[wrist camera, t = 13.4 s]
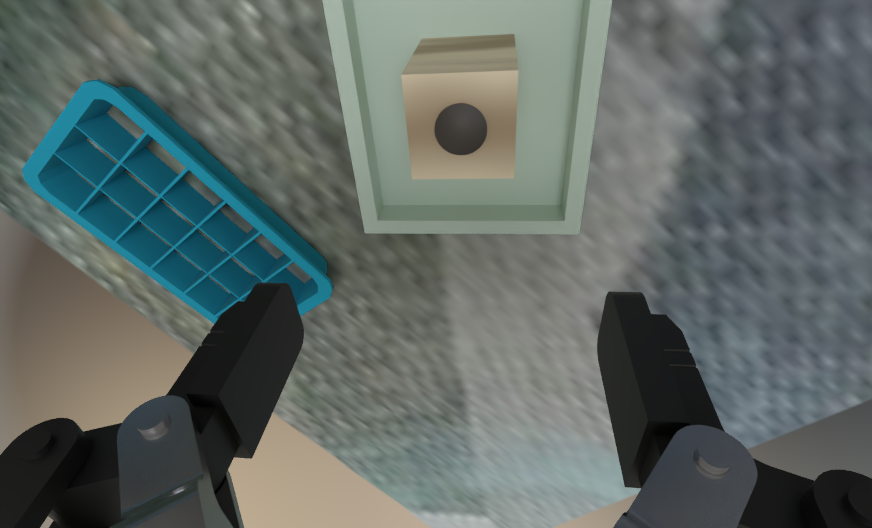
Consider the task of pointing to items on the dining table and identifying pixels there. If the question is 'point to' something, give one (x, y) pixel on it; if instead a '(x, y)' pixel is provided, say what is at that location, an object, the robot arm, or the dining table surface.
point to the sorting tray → (535, 127)
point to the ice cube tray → (138, 245)
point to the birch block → (462, 107)
